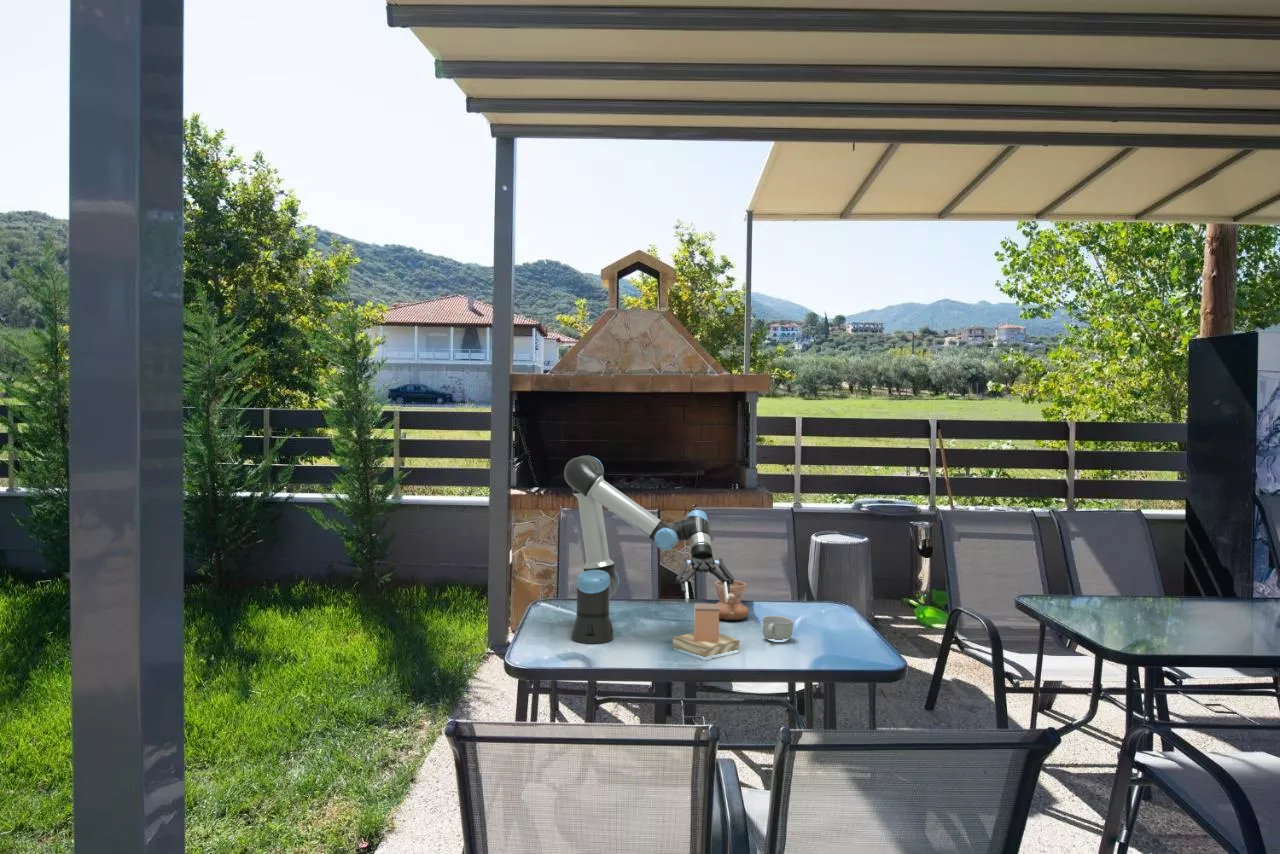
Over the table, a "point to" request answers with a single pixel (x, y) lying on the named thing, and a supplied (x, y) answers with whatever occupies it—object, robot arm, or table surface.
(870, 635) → the table surface
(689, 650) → the birch box
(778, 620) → the teacup
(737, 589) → the ceramic jug
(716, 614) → the pink square box
